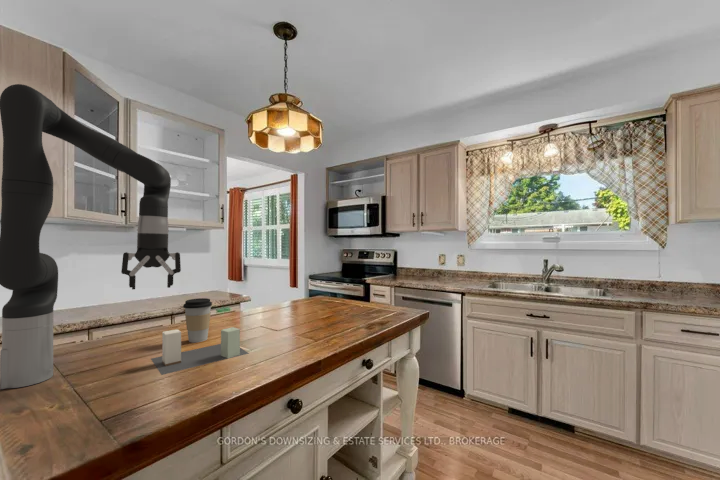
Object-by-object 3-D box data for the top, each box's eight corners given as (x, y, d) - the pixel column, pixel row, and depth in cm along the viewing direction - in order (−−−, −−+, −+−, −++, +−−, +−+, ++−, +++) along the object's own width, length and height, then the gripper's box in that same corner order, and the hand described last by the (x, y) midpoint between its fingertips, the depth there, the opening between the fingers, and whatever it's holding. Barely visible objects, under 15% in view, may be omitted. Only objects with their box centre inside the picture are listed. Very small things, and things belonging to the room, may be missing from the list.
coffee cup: (217, 338, 118) (217, 298, 119) (202, 346, 109) (202, 302, 109) (193, 337, 119) (193, 297, 120) (176, 345, 110) (176, 302, 110)
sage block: (227, 358, 96) (227, 332, 96) (221, 355, 99) (221, 329, 99) (239, 354, 99) (239, 329, 99) (232, 352, 102) (232, 327, 102)
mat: (161, 377, 84) (161, 374, 84) (150, 360, 96) (150, 358, 96) (249, 355, 100) (249, 353, 101) (230, 343, 112) (230, 341, 112)
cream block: (165, 366, 90) (165, 334, 90) (162, 362, 93) (162, 331, 93) (181, 362, 93) (181, 331, 93) (177, 359, 96) (177, 329, 96)
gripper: (121, 231, 85) (120, 291, 85) (182, 233, 93) (181, 288, 93) (123, 231, 91) (121, 288, 91) (180, 233, 99) (178, 285, 99)
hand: (151, 288), depth 92 cm, fingers open, 8 cm apart
